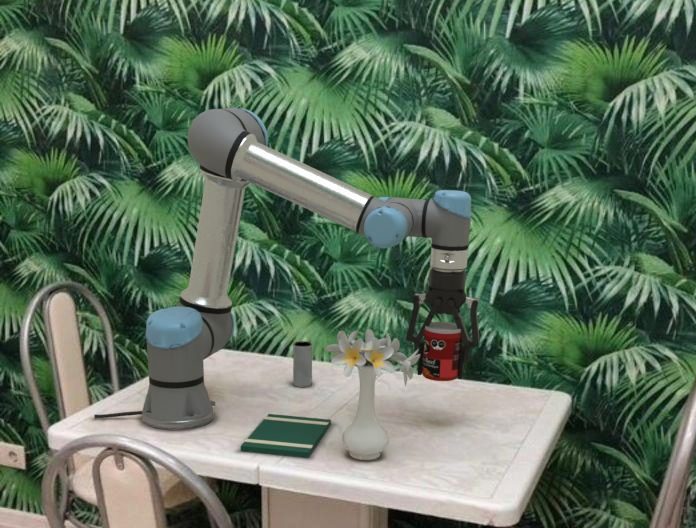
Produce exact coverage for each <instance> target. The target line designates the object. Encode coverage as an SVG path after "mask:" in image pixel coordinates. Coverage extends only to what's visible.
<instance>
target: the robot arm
mask: <svg viewBox="0 0 696 528" xmlns="http://www.w3.org/2000/svg"><path fill="white" fill-rule="evenodd" d="M187 145H188V149H189V152H190V154H191V157H193V159H194V160H195V161H196V163H198V164H199V171H200V172H201V174H202V175H203V177H204V180H205V181H204V187H203V192H202V199H201V204H200V211H199V219H198V224H197V230H196V231H197V232H196V236H195V243H194V251H193V256H192V263H191V269H190V275H189V280H188V281H189V282H188V286H187V287H186V288H185V289H183V290H181V291H180V294H179V300H178V305H177V306H169V307H167V308H160V309H158V310H155V311H154V312H151V314H149V316H148V317H147V319H146V322H145V324H146V325H145V326H146V328H145V339H146V351H147V353H146V354H147V365H148V366H147V369H148V389H147V391H146V392H147V393H146V396H145V399H144V402H143V406H142V410H137V411H136V410H135V411H126V412H125V411H124V412H116V413H115V412H114V413H106V414H105V413H104V414H94V416H93V417H94V419H110V418H117V417H118V418H119V417H128V416H129V417H130V416H138V415H141V416H142V418H141V419H142V422H143V423H144V424H146V425H148V426H149V427H153V428H155V429H161V430H176V431H177V430H188V429H195V428H199V427H202V426H205V425H207V424H210V422H212V421H213V420H214V417H215V415H214V414H215V413H214V407H216V401H214V400H211V399H210V395H209V393H208V390H207V388H206V385H205V369H204V361H205V360H206V359H208V358H209V357H211V356H212V355H214V354H216V353H218V352H219V351H221V350H223V349H224V348H225V347H226V346H227V345H228V343H229V342H230V340H231V339H232V337H233V335H234V332H235V324H236V323H235V317H234V314H233V313H232V308H233V300H232V299H231V298H230V296H229V294H228V290H229V285H230V280H231V273H232V269H233V263H234V257H235V253H236V251H235V250H236V247H237V239H238V235H239V229H240V222H241V218H242V211H243V206H244V200H245V194H246V190H247V187H248V186H250V185H251V184H252V185H255V186H256V187H258V188H261V189H263V190H265V191H268V192H270V193H272V194H273V195H276V196H278V197H281V198H283V199H284V200H287V201H289V202H291V203H294V204H295V205H297V206H300V207H301V208H304V209H307V210H308V211H310V212H313V213H314V214H316V215H318V216H322V217H323V218H325V219H328V220H330V221H332V222H334V223H336V224H339V225H340V226H342V227H345V228H347V229H349V230H351V231H353V232H356V233H357V234H360V235H361V236H363V237H365V238H366V240H367V241H368V242H369V243H370V244H371V245H372V246H374V247H376V248H378V249H388V248H392V247H395V246H398V245H400V243H402V242H403V241H404V240H405V239H407V238H409V237H410V238H412V237H413V238H424V239H431V246H430V257H429V258H430V259H429V266H430V267H431V268H430V269H429V271H428V274H429V275H428V286H427V291H426V293H418V292H415V293H414V295H412V305H413V308H412V310H411V315H410V319H409V324H408V327H407V332H406V336H405V339H406V341H408V342H411V343H412V344H413V353H414V352H415V351H417V350H418V349H419V350H418V352H417V354H416V355H418V354H420V357H419V359H418V361H417V376H422V375H423V374H422V360H423V344H424V341H422V339H424V333H425V326H429V325H430V323H431V322H433V319H434V317H435V315H443V314H445V315H448V316H452V318H453V320H454V323H455V324H456V325H457V328H458V329H461V339H462V346H461V349H460V361H459V374H458V377H457V380H462V379H463V377H464V367H465V366H464V364H469V362H470V358H471V357H470V356H471V349H472V348H477V347H479V345H480V342H481V340H480V329H479V318H478V317H479V316H478V306H479V302H480V299H479V297H470V296H467V294H466V281H467V272H466V269H467V267H468V256H469V241H470V232H471V219H472V196H471V195H470V193H468V192H467V191H463V190H455V189H454V190H453V189H440V190H439V189H438V190H436V192H435V193H434V197H432V199H420V198H419V199H418V198H407V197H397V196H379V197H376V196H374V195H372V194H370V193H368V192H365V191H364V190H362V189H360V188H358V187H356V186H353V185H351V184H348V183H346V182H345V181H342V180H340V179H338V178H336V177H334V176H331V175H330V174H328V173H325V172H323V171H321V170H318V169H316V168H314V167H312V166H311V165H308V164H306V163H304V162H301V161H299V160H297V159H295V158H293V157H291V156H289V155H287V154H285V153H282V152H281V151H280V152H279V151H278V150H275V149H273V148H271V147H269V146H268V145H269V136H268V130H267V128H266V126H265V124H264V122H263V121H262V119H261V118H260V117H259V116H258V115H257V114H256V113H255V112H253V111H251V110H249V109H246V108H241V107H236V106H233V107H232V106H230V107H225V108H212V109H207V110H205V111H203V112H200V113H199V114H198V115H197V116H196V117H195V118H194V119H193V120H192V122H191V123H190V125H189V128H188V131H187ZM425 300H426V301H427V303H428V305H429V306H430V310H429V312H428V314H427V316H426V318H425V320H424V322H423V323H422V325H421V328H420V329H419V331H418V333H417V335H416V334H415V330H416V327H417V323H418V318H419V313H420V309H421V305H423V304H424V302H425ZM465 303H466V304H467V309H470V310H469V315H470V326H471V327H470V329H471V337H472V339H470V336H469V333H468V331H467V328H466V325H465V321H464V319H463V316H462V312H461V309H460V308H461V307H463V305H464V304H465ZM416 355H415V356H416Z"/></svg>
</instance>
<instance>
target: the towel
mask: <svg viewBox="0 0 696 528" xmlns="http://www.w3.org/2000/svg"><path fill="white" fill-rule="evenodd" d="M331 425H332V420H331V419H330V418H329V419H327V418H318V417H307V416H295V415H288V414H287V415H286V414H285V415H284V414H273V413H268V414H267V415H266V416H265V417H264V418H263V420H262V421H261V422H260V423H259V424H258V425H257V427H256V428H255V429H254V430H253V431H252V432H251V433H250V435H248V437H247V438H245V439H244V440H243V443H242V444H241V445H240V452H247V453H256V454H267V455H276V456H285V457H296V458H306V459H309V458H310V456H311V455H312V453H313V452H314V451H315V450H316V447H318V445H319V443H320V441H321V440H322V439H323V437H324V435H325V434H326V433H327V431H328V430H329V428H330V426H331Z"/></svg>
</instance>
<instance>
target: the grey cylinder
mask: <svg viewBox="0 0 696 528" xmlns="http://www.w3.org/2000/svg"><path fill="white" fill-rule="evenodd" d="M292 345H293V349H292V352H293V353H292V355H293V356H292V359H293V360H292V362H293V363H292V373H293V374H292V381H293V382H292V384H293V386H295V387H298V388H308V387H312V385H313V343H312V342H310V341H295V342H293V344H292Z"/></svg>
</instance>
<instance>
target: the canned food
mask: <svg viewBox="0 0 696 528" xmlns="http://www.w3.org/2000/svg"><path fill="white" fill-rule="evenodd" d="M423 342H424V344H423V360H422V374H421V375H422V376H423V378H425V379H427V380H429V381H435V382H451V381H455V380H458V374H459V361H460V349H461V346H463V342H462V339H461V329H458V328H457V325H456V322H449V321H431V323H430V325H429V326H425V333H424V336H423Z"/></svg>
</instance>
